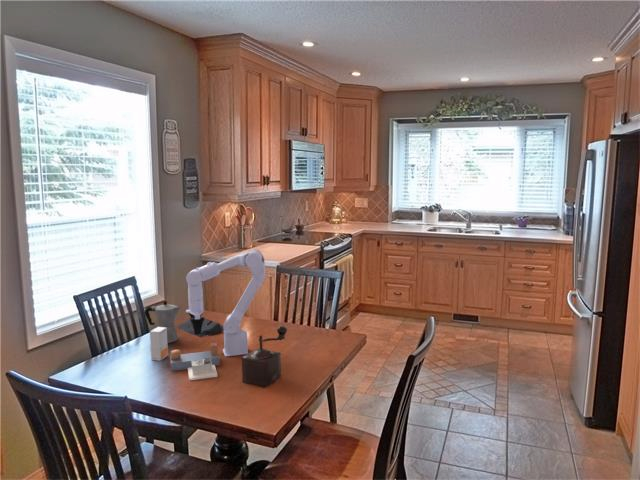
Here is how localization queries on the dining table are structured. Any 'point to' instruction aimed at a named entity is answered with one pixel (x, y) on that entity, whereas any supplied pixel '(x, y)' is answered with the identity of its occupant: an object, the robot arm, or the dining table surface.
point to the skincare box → (158, 343)
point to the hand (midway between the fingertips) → (197, 331)
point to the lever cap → (201, 366)
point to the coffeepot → (165, 319)
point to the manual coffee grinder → (263, 363)
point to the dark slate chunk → (207, 327)
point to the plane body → (193, 358)
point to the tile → (202, 376)
